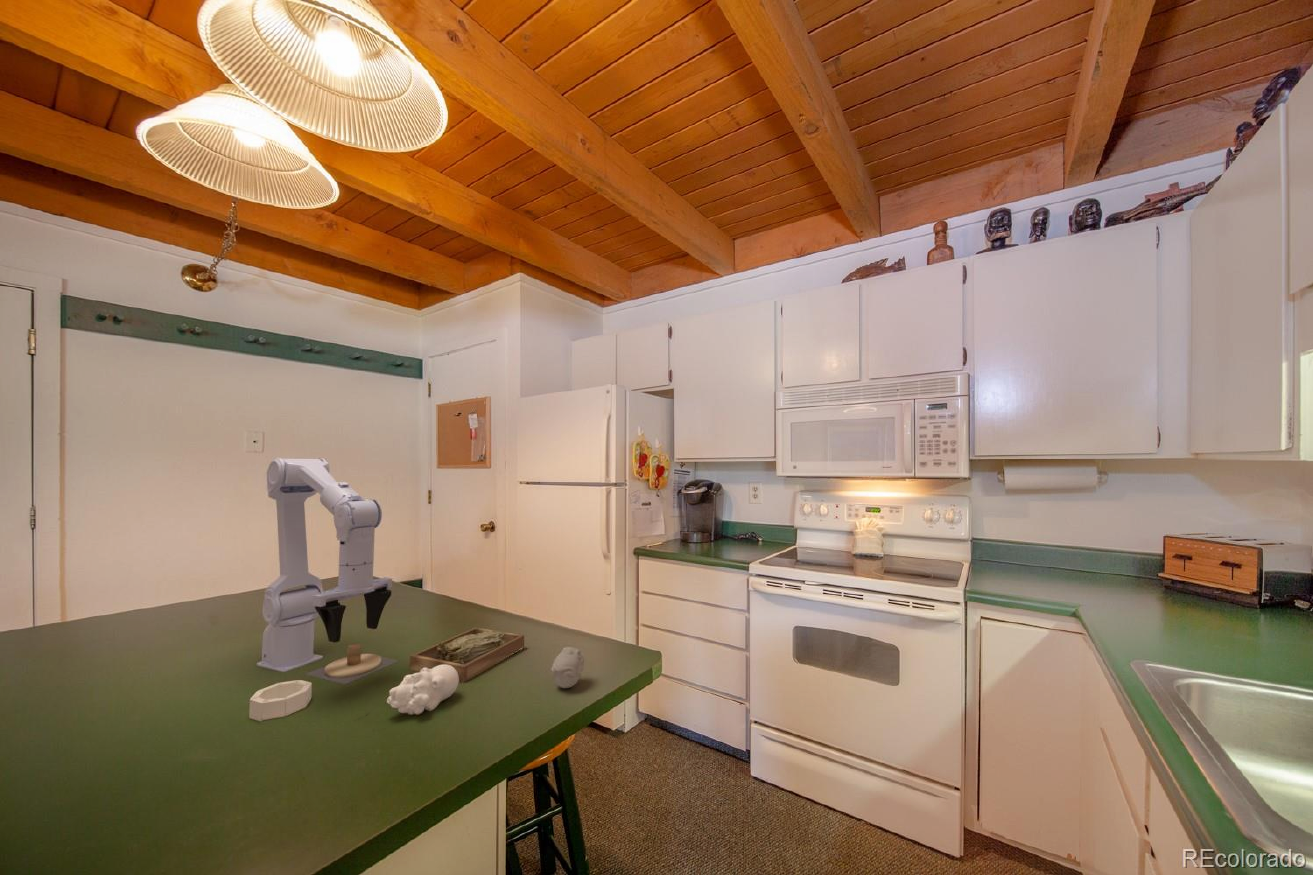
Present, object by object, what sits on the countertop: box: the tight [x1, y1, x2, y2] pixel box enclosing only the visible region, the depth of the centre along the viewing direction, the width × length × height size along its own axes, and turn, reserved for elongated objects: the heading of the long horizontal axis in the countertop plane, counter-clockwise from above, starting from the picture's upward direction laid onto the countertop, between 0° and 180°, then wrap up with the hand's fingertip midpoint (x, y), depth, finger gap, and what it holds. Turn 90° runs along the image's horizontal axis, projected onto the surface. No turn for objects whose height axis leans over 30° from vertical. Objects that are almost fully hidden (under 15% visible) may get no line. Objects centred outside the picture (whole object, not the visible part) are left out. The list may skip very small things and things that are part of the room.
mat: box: [304, 652, 400, 685], centre depth 100 cm, size 12×12×1 cm
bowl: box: [248, 679, 313, 722], centre depth 84 cm, size 8×8×3 cm
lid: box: [324, 643, 382, 678], centre depth 100 cm, size 10×10×4 cm
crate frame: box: [409, 627, 525, 683], centre depth 105 cm, size 15×19×3 cm
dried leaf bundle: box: [436, 629, 505, 665], centre depth 105 cm, size 14×10×5 cm, turn 136°
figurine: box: [386, 664, 459, 716], centre depth 84 cm, size 7×7×12 cm
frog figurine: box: [550, 646, 585, 689], centre depth 92 cm, size 6×7×7 cm
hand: (353, 634), depth 92 cm, fingers open, 7 cm apart
